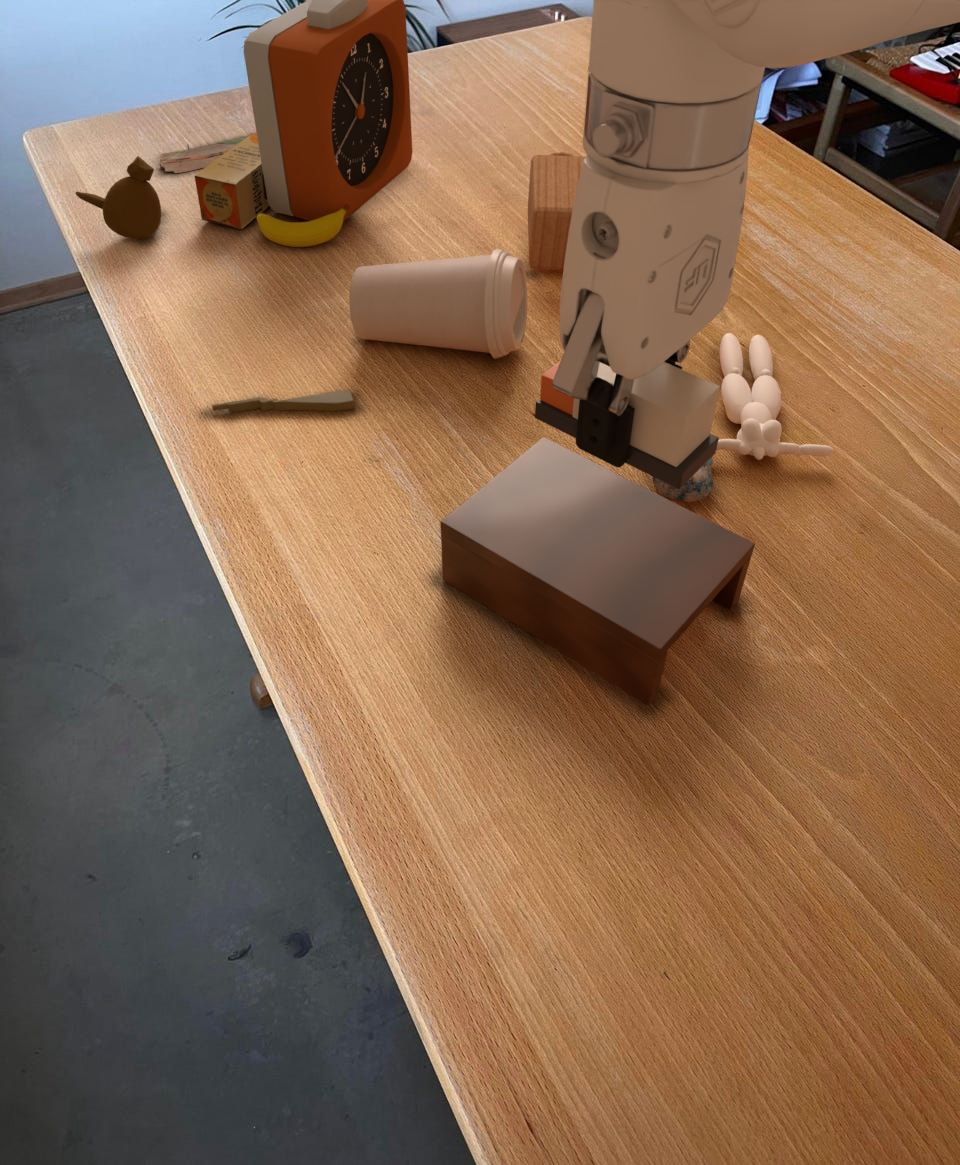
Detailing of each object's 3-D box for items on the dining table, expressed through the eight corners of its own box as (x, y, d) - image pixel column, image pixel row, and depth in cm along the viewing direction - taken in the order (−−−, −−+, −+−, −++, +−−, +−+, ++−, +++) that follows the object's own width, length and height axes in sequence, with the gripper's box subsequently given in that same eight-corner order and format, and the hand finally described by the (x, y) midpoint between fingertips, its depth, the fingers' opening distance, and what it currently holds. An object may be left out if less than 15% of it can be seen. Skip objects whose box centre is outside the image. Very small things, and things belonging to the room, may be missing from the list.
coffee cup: (348, 365, 91) (509, 369, 88) (338, 256, 87) (507, 255, 84) (381, 344, 99) (529, 346, 96) (374, 243, 95) (528, 242, 92)
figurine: (181, 230, 108) (156, 216, 112) (158, 154, 103) (133, 142, 107) (113, 254, 105) (91, 239, 109) (86, 177, 100) (63, 164, 103)
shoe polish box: (257, 176, 117) (202, 219, 109) (251, 133, 114) (194, 175, 106) (294, 184, 116) (241, 229, 108) (290, 141, 113) (235, 184, 105)
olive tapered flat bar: (354, 396, 89) (353, 388, 88) (355, 410, 87) (354, 402, 87) (213, 406, 88) (211, 397, 87) (212, 420, 87) (210, 411, 86)
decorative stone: (716, 504, 77) (660, 473, 76) (688, 525, 81) (635, 496, 80) (736, 440, 80) (683, 409, 79) (709, 464, 84) (658, 435, 83)
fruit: (349, 249, 106) (352, 211, 108) (344, 236, 104) (348, 197, 106) (255, 252, 107) (260, 214, 109) (249, 239, 105) (254, 200, 107)
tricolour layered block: (715, 453, 57) (730, 387, 54) (679, 490, 55) (692, 423, 52) (573, 386, 61) (579, 321, 58) (534, 418, 59) (537, 352, 56)
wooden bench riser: (738, 601, 72) (755, 543, 68) (648, 706, 66) (660, 649, 62) (539, 495, 80) (543, 436, 76) (442, 579, 74) (439, 521, 69)
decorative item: (533, 209, 98) (530, 126, 111) (528, 271, 102) (526, 184, 116) (600, 212, 98) (589, 128, 111) (593, 274, 102) (583, 186, 116)
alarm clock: (335, 233, 108) (311, 26, 93) (267, 215, 111) (233, 12, 96) (415, 163, 119) (406, -31, 104) (352, 149, 122) (334, -42, 107)
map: (327, 140, 125) (327, 133, 124) (169, 176, 118) (167, 168, 117) (310, 122, 128) (310, 115, 127) (154, 156, 120) (152, 149, 119)
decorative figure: (804, 348, 94) (831, 476, 82) (675, 340, 95) (682, 466, 83) (814, 316, 91) (842, 444, 79) (680, 308, 92) (689, 434, 80)
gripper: (636, 209, 39) (595, 542, 52) (829, 77, 48) (751, 392, 61) (486, 154, 42) (483, 482, 55) (693, 40, 51) (647, 347, 64)
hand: (624, 432), depth 58 cm, fingers closed on tricolour layered block, 4 cm apart
